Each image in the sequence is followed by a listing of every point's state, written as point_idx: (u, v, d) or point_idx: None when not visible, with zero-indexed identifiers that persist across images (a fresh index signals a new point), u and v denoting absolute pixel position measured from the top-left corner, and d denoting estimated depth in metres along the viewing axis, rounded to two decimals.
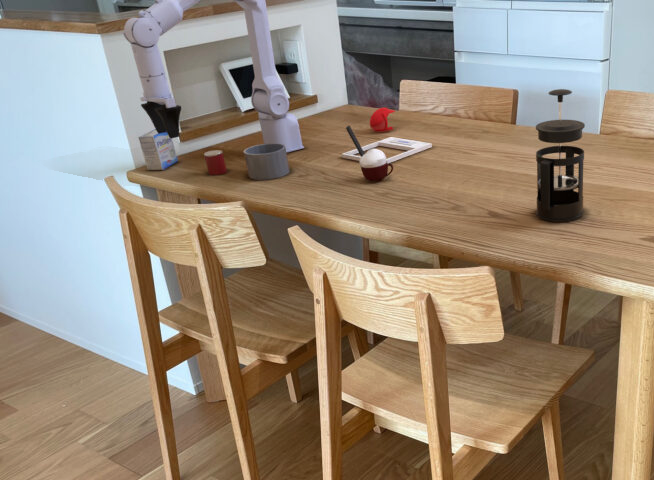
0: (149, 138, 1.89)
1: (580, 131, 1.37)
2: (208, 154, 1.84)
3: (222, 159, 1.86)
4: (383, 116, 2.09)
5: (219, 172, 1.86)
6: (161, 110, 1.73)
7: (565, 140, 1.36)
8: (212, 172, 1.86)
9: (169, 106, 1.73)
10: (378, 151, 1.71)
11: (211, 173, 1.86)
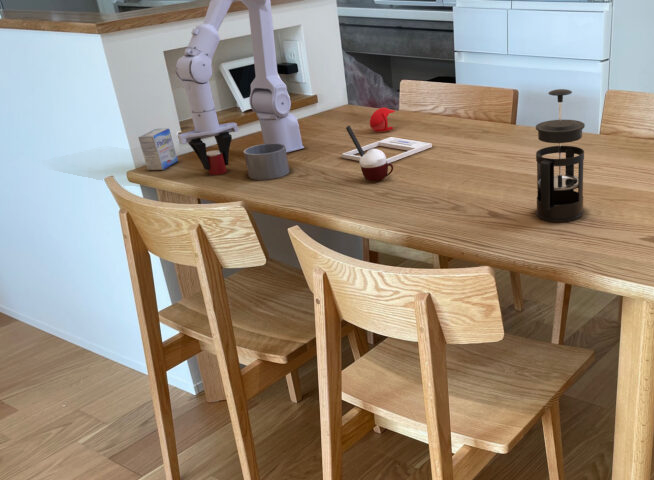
0: (149, 138, 1.89)
1: (580, 131, 1.37)
2: (208, 154, 1.84)
3: (222, 159, 1.86)
4: (383, 116, 2.09)
5: (219, 172, 1.86)
6: (187, 141, 1.82)
7: (565, 140, 1.36)
8: (212, 172, 1.86)
9: (179, 141, 1.80)
10: (378, 151, 1.71)
11: (211, 173, 1.86)
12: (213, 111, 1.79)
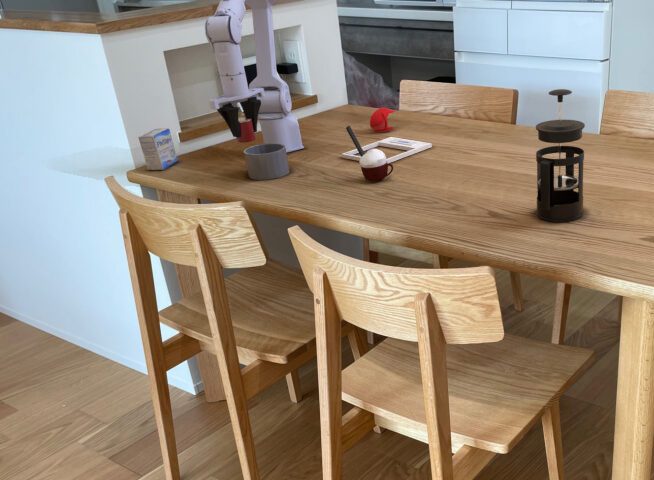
0: (149, 138, 1.89)
1: (580, 131, 1.37)
2: None
3: (252, 125, 1.79)
4: (383, 116, 2.09)
5: (250, 139, 1.79)
6: None
7: (565, 140, 1.36)
8: (243, 139, 1.79)
9: (211, 107, 1.72)
10: (378, 151, 1.71)
11: (241, 141, 1.79)
12: (244, 74, 1.73)
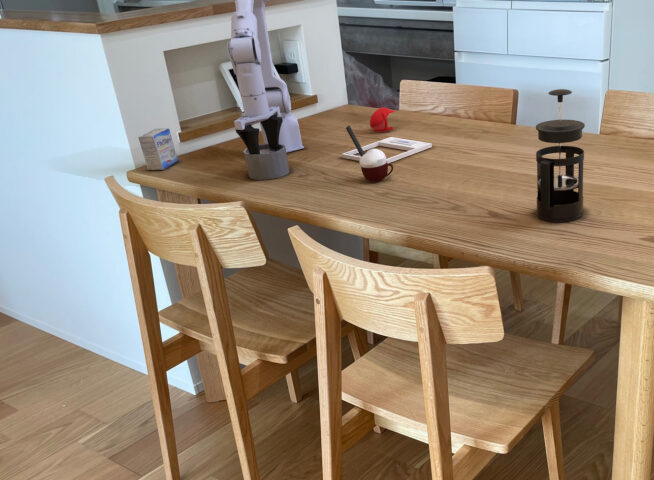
0: (149, 138, 1.89)
1: (580, 131, 1.37)
2: (263, 153, 1.80)
3: None
4: (383, 116, 2.09)
5: None
6: (236, 129, 1.74)
7: (565, 140, 1.36)
8: None
9: (237, 128, 1.72)
10: (378, 151, 1.71)
11: None
12: (265, 94, 1.75)
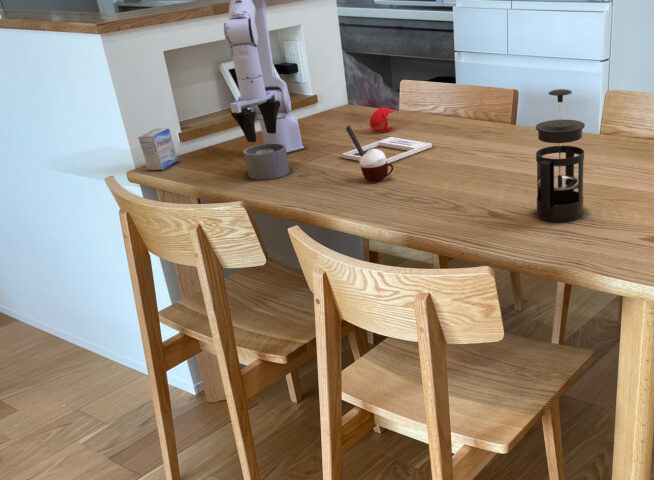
0: (149, 138, 1.89)
1: (580, 131, 1.37)
2: (263, 153, 1.80)
3: None
4: (383, 116, 2.09)
5: None
6: (231, 113, 1.72)
7: (565, 140, 1.36)
8: None
9: (233, 111, 1.70)
10: (378, 151, 1.71)
11: None
12: (262, 77, 1.73)
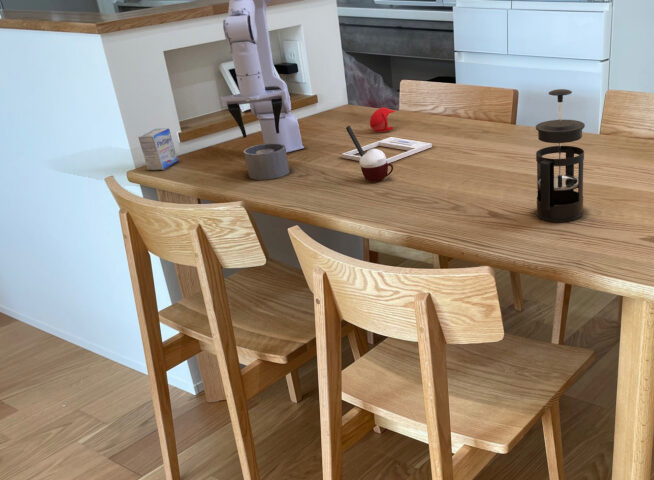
0: (149, 138, 1.89)
1: (580, 131, 1.37)
2: (263, 153, 1.80)
3: None
4: (383, 116, 2.09)
5: None
6: (282, 103, 1.75)
7: (565, 140, 1.36)
8: None
9: (286, 97, 1.76)
10: (378, 151, 1.71)
11: None
12: None
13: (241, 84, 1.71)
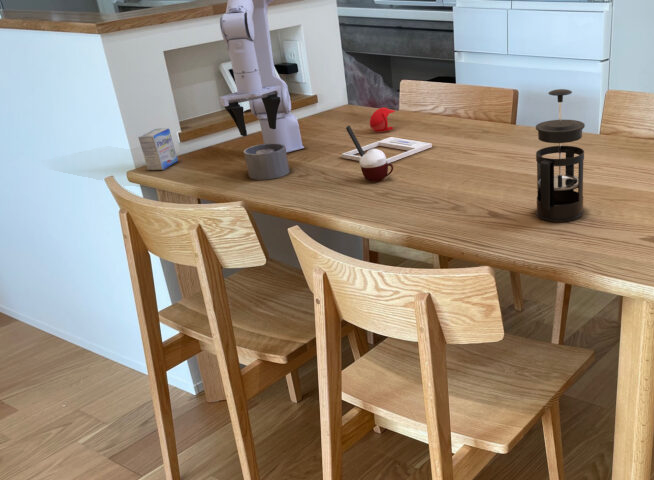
0: (149, 138, 1.89)
1: (580, 131, 1.37)
2: (263, 153, 1.80)
3: None
4: (383, 116, 2.09)
5: None
6: (280, 98, 1.77)
7: (565, 140, 1.36)
8: None
9: None
10: (378, 151, 1.71)
11: None
12: None
13: (242, 82, 1.71)
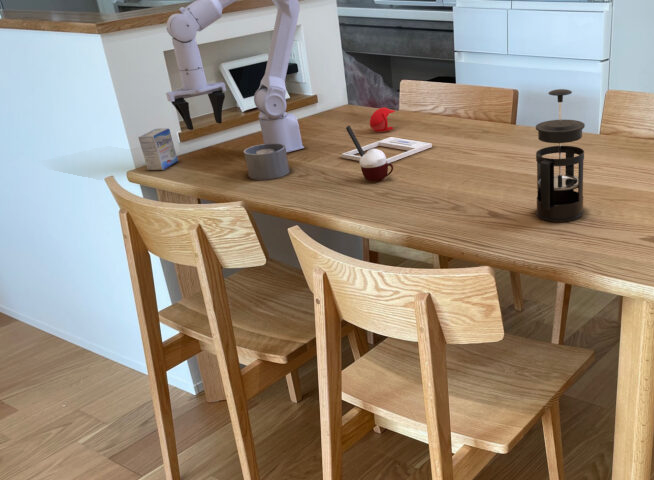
0: (149, 138, 1.89)
1: (580, 131, 1.37)
2: (263, 153, 1.80)
3: None
4: (383, 116, 2.09)
5: None
6: (224, 94, 1.89)
7: (565, 140, 1.36)
8: None
9: None
10: (378, 151, 1.71)
11: None
12: None
13: (187, 78, 1.82)
